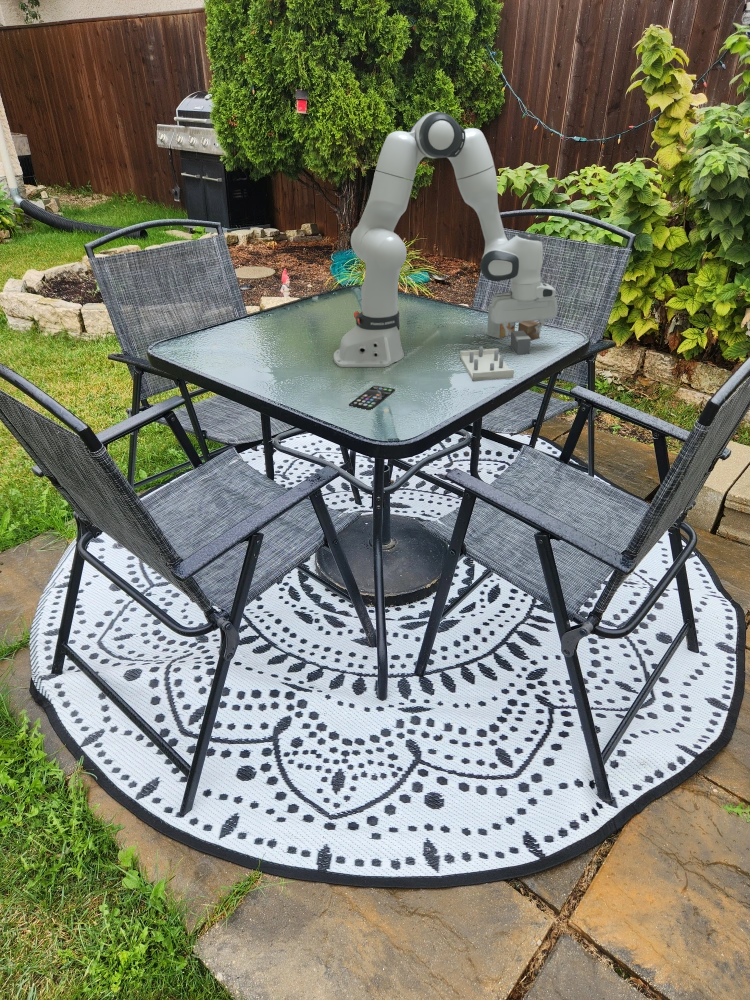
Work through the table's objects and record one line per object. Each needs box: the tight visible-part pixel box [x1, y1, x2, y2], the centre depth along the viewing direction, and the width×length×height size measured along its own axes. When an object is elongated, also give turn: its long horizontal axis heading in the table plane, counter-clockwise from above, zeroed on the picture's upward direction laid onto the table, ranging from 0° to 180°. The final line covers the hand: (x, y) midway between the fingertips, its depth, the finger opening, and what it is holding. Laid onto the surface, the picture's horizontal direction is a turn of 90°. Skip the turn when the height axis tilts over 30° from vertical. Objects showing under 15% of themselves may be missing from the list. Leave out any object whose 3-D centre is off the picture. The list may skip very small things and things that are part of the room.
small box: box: [486, 303, 516, 340], centre depth 223 cm, size 8×6×10 cm
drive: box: [509, 330, 532, 356], centre depth 212 cm, size 4×8×5 cm, turn 6°
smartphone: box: [348, 385, 396, 411], centre depth 187 cm, size 7×1×15 cm
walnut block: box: [517, 320, 541, 341], centre depth 221 cm, size 5×5×5 cm
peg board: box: [459, 345, 515, 382], centre depth 201 cm, size 12×18×4 cm, turn 6°
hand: (522, 334), depth 211 cm, fingers open, 8 cm apart
